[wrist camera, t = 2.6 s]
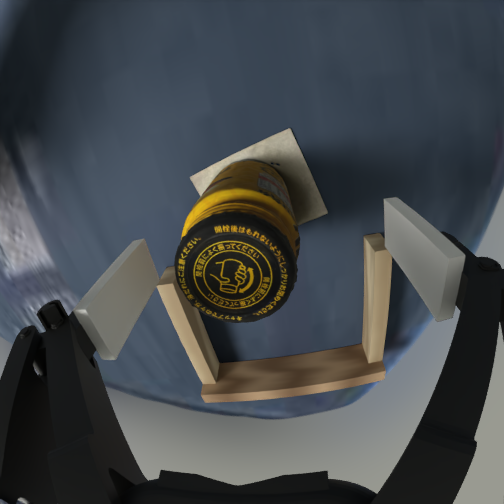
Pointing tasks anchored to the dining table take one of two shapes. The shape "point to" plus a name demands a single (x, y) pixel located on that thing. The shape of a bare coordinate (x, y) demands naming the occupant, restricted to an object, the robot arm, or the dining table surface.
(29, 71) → the dining table surface
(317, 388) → the bay
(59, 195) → the dining table surface
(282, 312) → the dining table surface
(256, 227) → the condiment
